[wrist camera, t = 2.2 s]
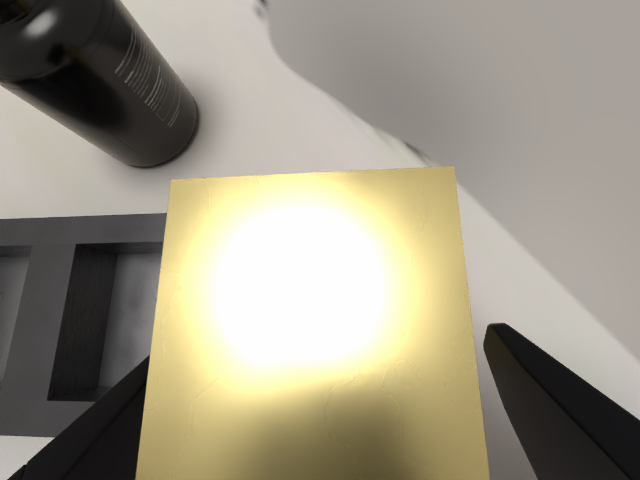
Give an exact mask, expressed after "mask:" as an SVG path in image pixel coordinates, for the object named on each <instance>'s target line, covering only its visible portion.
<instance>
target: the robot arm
mask: <svg viewBox="0 0 640 480" xmlns="http://www.w3.org/2000/svg"><path fill="white" fill-rule="evenodd" d="M483 347H484V352H485V355H486V358H487V361H488V364H489V366H490V369H491V372H492V375H493V378H494V381H495V383H496V386H497V389H498V392H499V395H500V398H501V400H502V403H503V406H504V408H505V410H506V413H507V415H508V417H509V419H510V421H511V424H512V426H513V428H514V430H515V432H516V434H517V436H518V438H519V440H520V443H521V445H522V447H523V449H524V451H525V453H526V455H527V457H528V460H529V462H530V464H531V466H532V468H533V470H534V472H535V474H536V476H537V479H538V480H640V420H639V419H637V418H636V417H635V416H633V415H632V414H630V413H629V412H628V411H626V410H625V409H624V408H622V407H621V406H619V405H618V404H617V403H615V402H614V401H612V400H611V399H610V398H608V397H607V396H606V395H604V394H603V393H601V392H600V391H599V390H597V389H596V388H594V387H593V386H592V385H590V384H589V383H588V382H586V381H585V380H583V379H582V378H581V377H579V376H578V375H577V374H575V373H574V372H572V371H571V370H570V369H568V368H567V367H565V366H564V365H563V364H561V363H560V362H559V361H557V360H556V359H554V358H553V357H552V356H550V355H549V354H548V353H546V352H545V351H543V350H542V349H541V348H539V347H538V346H536V345H535V344H534V343H532V342H531V341H530V340H528V339H527V338H525V337H524V336H523V335H521V334H520V333H519V332H517V331H516V330H514V329H513V328H512V327H510V326H509V325H507V324H505V323H492V324H489V325H488V326H487V330H486V334H485V339H484V344H483ZM149 361H150V355H149V356H147V357H146V358H145V359H144V360H143V361H142V362H141V363H139V364H138V365H137V366H136V367H135V368H134V369H133V370H132V371H130V372H129V373H128V374H127V375H126V376H125V377H124V378H122V379H121V380H120V381H119V382H118V383H117V384H116V385H114V386H113V387H112V388H111V389H110V390H109V391H108V392H107V393H105V394H104V395H103V396H102V397H101V398H100V399H99V400H97V401H96V402H95V403H94V404H93V405H92V406H91V407H89V408H88V409H87V410H86V411H85V412H84V413H83V414H82V415H80V416H79V417H78V418H77V419H76V420H75V421H74V422H72V423H71V424H70V425H69V426H68V427H67V428H66V429H64V430H63V431H62V432H61V433H60V434H59V435H58V436H56V437H55V438H54V439H53V440H52V441H51V442H50V443H49V444H47V445H46V446H45V447H44V448H43V449H42V450H41V451H39V452H38V453H37V454H36V455H35V456H34V457H33V458H31V459H30V460H29V461H28V463H27V465H23V466H22V467H21V468H20V469H19V470H18V471H17V472H15V473H14V474H13V475H12V476H11V477H10V478H9V479H7V480H135V479H136V470H137V462H138V453H139V445H140V437H141V428H142V420H143V411H144V403H145V395H146V386H147V378H148V369H149Z"/></svg>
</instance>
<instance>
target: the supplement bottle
mask: <svg viewBox="0 0 640 480" xmlns="http://www.w3.org/2000/svg"><path fill="white" fill-rule="evenodd" d="M0 85H1V86H2V87H4V88H5V89H7V90H8V91H10V92H12V93H13V94H15V95H16V96H18V97H19V98H21V99H23V100H24V101H26V102H27V103H29V104H30V105H32V106H34V107H35V108H37V109H38V110H40V111H41V112H43V113H45V114H46V115H48V116H49V117H51V118H52V119H54V120H56V121H57V122H59V123H60V124H62V125H63V126H65V127H67V128H68V129H70V130H71V131H73V132H74V133H76V134H78V135H79V136H81V137H82V138H84V139H85V140H87V141H89V142H90V143H92V144H93V145H95V146H96V147H98V148H100V149H101V150H103V151H104V152H106V153H107V154H109V155H111V156H112V157H114V158H116V159H117V160H119V161H121V162H123V163H126V164H129V165H133V166H141V167H142V166H153V165H157V164H160V163H163V162H165V161H167V160H169V159H171V158H172V157H174V156H175V155H176V154H178V153H179V152H180V151H181V150H182V149H183V148H184V147H185V145H186V144H187V143H188V141H189V140H190V138H191V136H192V134H193V132H194V129H195V125H196V119H197V112H196V106H195V102H194V100H193V97H192V96H191V94H190V92H189V91H188V89H187V88H186V87H185V85H184V84H183V83H182V81H181V80H180V78H179V77H178V76H177V74H176V73H175V72H174V71H173V69H172V68H171V67H170V65H169V64H168V63H167V61H166V60H165V59H164V57H163V56H162V55H161V53H160V52H159V51H158V49H157V48H156V47H155V45H154V44H153V43H152V42H151V40H150V39H149V38H148V36H147V35H146V34H145V32H144V31H143V30H142V28H141V27H140V26H139V24H138V23H137V22H136V20H135V19H134V18H133V17H132V15H131V14H130V13H129V11H128V10H127V9H126V7H125V6H124V5H123V3H122V2H121V1H120V0H0Z"/></svg>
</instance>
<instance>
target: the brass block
mask: <svg viewBox="0 0 640 480" xmlns="http://www.w3.org/2000/svg"><path fill="white" fill-rule="evenodd" d="M135 480H490V476H489V467H488V458H487V449H486V441H485V432H484V423H483V415H482V406H481V397H480V388H479V380H478V371H477V362H476V353H475V345H474V336H473V327H472V318H471V310H470V301H469V292H468V283H467V275H466V266H465V257H464V249H463V240H462V231H461V222H460V214H459V205H458V196H457V187H456V179H455V170H454V166H446V167H425V168H404V169H383V170H362V171H341V172H320V173H299V174H278V175H257V176H236V177H215V178H194V179H173V180H171V185H170V193H169V202H168V210H167V218H166V227H165V235H164V244H163V252H162V260H161V269H160V277H159V286H158V294H157V302H156V311H155V319H154V327H153V336H152V344H151V353H150V361H149V369H148V378H147V386H146V395H145V403H144V411H143V420H142V428H141V437H140V445H139V453H138V462H137V470H136V479H135Z"/></svg>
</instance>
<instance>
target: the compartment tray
mask: <svg viewBox="0 0 640 480" xmlns="http://www.w3.org/2000/svg"><path fill="white" fill-rule="evenodd" d="M166 218H167V213H158V214H131V215H103V216H76V217H49V218H21V219H0V435H6V436H32V437H56V436H58V435H59V434H60V433H61V432H62V431H63V430H64V429H66V428H67V427H68V426H69V425H70V424H71V423H72V422H74V421H75V420H76V419H77V418H78V417H79V416H80V415H82V414H83V413H84V412H85V411H86V410H87V409H88V408H89V407H91V406H92V405H93V404H94V403H95V402H96V401H97V400H99V399H100V398H101V397H102V396H103V395H104V394H105V393H107V392H108V391H109V390H110V389H111V388H112V387H113V386H114V385H116V384H117V383H118V382H119V381H120V380H121V379H122V378H124V377H125V376H126V375H127V374H128V373H129V372H130V371H132V370H133V369H134V368H135V367H136V366H137V365H138V364H139V363H141V362H142V361H143V360H144V359H145V358H146V357H147V356H149V355H150V353H151V344H152V336H153V327H154V319H155V311H156V302H157V294H158V286H159V277H160V269H161V260H162V252H163V244H164V235H165V227H166Z"/></svg>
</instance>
